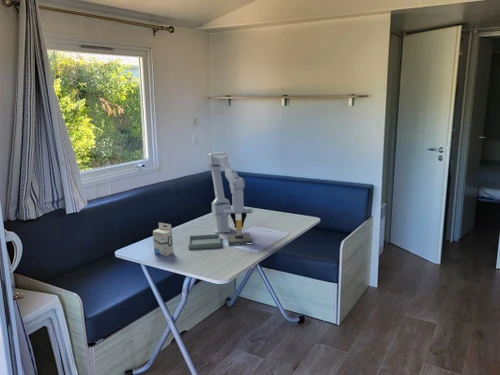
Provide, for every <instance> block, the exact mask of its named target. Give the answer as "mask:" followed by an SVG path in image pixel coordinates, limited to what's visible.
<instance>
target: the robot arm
mask: <svg viewBox="0 0 500 375" xmlns="http://www.w3.org/2000/svg"><path fill="white" fill-rule="evenodd" d="M206 160H207V168H208V169H210V170H211V171H210V172H211V177H212V182H213V190H214V196H215V198H214V200H213V201H212V202H211V213H212V215H213V216H214V217H215V227H214V230H215V234H221V233H222V234H223V233H231V230H230V226H229V225H230V224H229V216H230V218H231V219H232V222H233V224H234V229H236V220H237V219H236V215H238V214H241V216H240V217H241V220H242V228H244V223H245V220H246V218H247V214H253V208H245V206H244V204H245V203H244V202H245V201H244V189H245V188H246V181H245V180H244V178H243V177H241V176H239V175H238V173H237V172H236V170H235V169H234V168H232V167H231V165H230V164H229V162H228V154H227V153H226V151H220V152H209V153H208V154H207V158H206ZM221 169H222V170H223V172H224V176H225V179H226V180H227V181H228V183H229V188H230V193H231V196H232V197H231V199H232V200H231V201H232V205H231V203H230V200H229V199H227V198H226V197H225V191H224V186H223V185H224V184H223V179H222V174H221V173H222V172H221V171H222V170H221Z"/></svg>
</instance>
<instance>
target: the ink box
mask: <svg viewBox="0 0 500 375" xmlns="http://www.w3.org/2000/svg"><path fill="white" fill-rule="evenodd" d="M172 229H173V228H172V224H171V223H164V222H158V228H156V229H154V230H152V239H153V252H154V254H155V255H160V256H165V257H169V256H171V255H172V254H174V241H173V230H172Z"/></svg>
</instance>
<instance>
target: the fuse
mask: <svg viewBox="0 0 500 375" xmlns="http://www.w3.org/2000/svg"><path fill="white" fill-rule="evenodd" d="M242 229H243V227H242V218H241V219H236V228H235V230H236V231H235V232H236V234H237V235H242V233H243V232H242Z"/></svg>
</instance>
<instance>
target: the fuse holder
mask: <svg viewBox="0 0 500 375" xmlns="http://www.w3.org/2000/svg"><path fill="white" fill-rule="evenodd" d="M226 238H227V244H228V246H239V245H238V244H245V245H247V244H246V243H252V244H253V240H252V236H251V234H250V232H247V233H246V232H245V233H243V232H242V235H237V233H229V234H227V235H226Z"/></svg>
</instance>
